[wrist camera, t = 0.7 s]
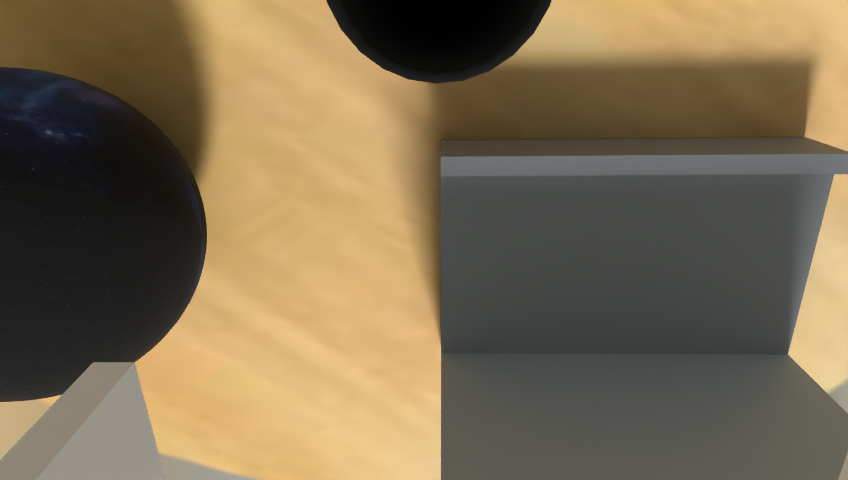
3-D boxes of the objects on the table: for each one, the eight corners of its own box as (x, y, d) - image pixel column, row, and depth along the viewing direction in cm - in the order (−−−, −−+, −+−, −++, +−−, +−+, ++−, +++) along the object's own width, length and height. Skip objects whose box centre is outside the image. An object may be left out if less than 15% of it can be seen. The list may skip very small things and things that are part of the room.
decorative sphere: (215, 44, 30) (25, 69, 17) (267, 294, 36) (157, 472, 22) (-53, 67, 31) (-449, 111, 17) (37, 309, 37) (-209, 489, 23)
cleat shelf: (440, 140, 32) (439, 227, 19) (805, 137, 31) (1062, 225, 18) (441, 347, 37) (441, 528, 24) (756, 348, 36) (931, 535, 23)
